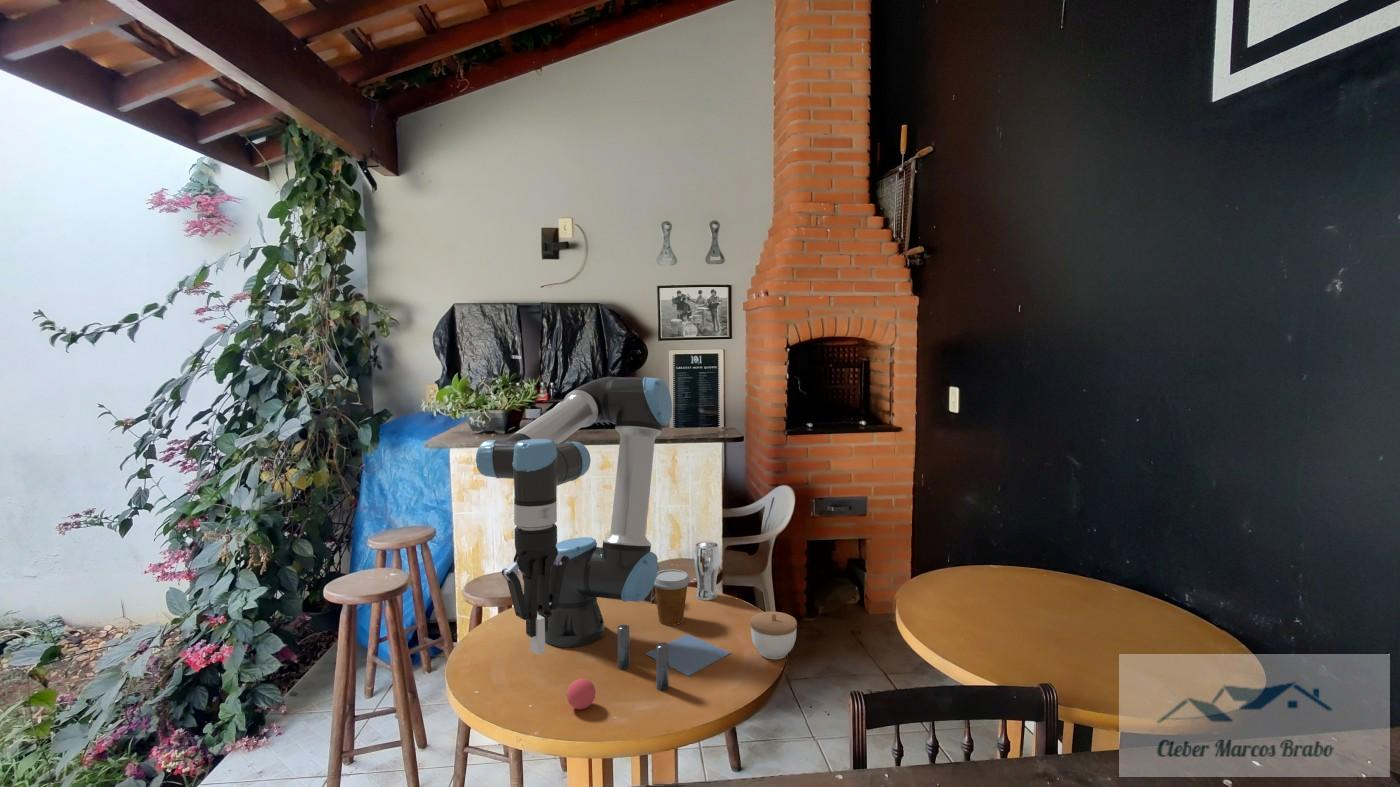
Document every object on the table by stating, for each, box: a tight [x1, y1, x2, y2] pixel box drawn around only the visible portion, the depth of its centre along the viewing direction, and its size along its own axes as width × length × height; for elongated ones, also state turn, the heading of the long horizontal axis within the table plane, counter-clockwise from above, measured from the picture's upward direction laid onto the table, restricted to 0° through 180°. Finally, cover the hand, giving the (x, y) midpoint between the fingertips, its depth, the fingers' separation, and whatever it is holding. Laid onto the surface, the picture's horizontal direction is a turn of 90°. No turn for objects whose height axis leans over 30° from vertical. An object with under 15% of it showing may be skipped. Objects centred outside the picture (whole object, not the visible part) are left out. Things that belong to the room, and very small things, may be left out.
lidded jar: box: [749, 611, 798, 660], centre depth 147 cm, size 11×11×9 cm
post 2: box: [655, 642, 670, 692], centre depth 132 cm, size 3×3×9 cm
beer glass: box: [694, 540, 720, 602], centre depth 180 cm, size 7×7×15 cm
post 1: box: [617, 624, 630, 671], centre depth 140 cm, size 3×3×9 cm
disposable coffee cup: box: [654, 568, 690, 626], centre depth 164 cm, size 10×10×12 cm
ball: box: [566, 678, 596, 710], centre depth 125 cm, size 6×6×6 cm
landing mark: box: [645, 633, 732, 677], centre depth 147 cm, size 14×14×1 cm
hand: (537, 651), depth 117 cm, fingers closed
